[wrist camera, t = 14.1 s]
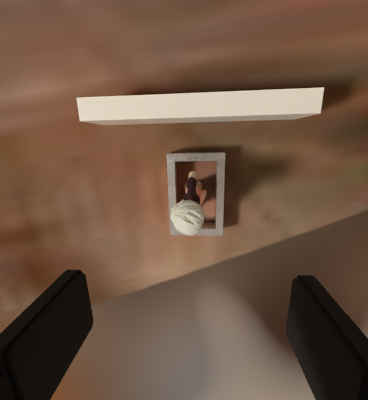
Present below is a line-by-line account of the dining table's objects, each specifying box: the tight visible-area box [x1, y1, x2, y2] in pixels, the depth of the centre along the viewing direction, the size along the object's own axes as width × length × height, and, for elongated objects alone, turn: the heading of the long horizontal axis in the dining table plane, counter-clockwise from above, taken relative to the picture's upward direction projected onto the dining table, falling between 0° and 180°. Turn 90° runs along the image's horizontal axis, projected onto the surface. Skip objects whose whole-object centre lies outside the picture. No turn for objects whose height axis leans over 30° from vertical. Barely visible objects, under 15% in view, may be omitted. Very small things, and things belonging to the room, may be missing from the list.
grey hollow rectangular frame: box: [167, 152, 225, 235], centre depth 30 cm, size 8×12×2 cm, turn 1°
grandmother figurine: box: [171, 171, 207, 236], centre depth 25 cm, size 8×4×13 cm, turn 5°
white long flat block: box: [77, 87, 324, 125], centre depth 25 cm, size 26×2×6 cm, turn 91°
